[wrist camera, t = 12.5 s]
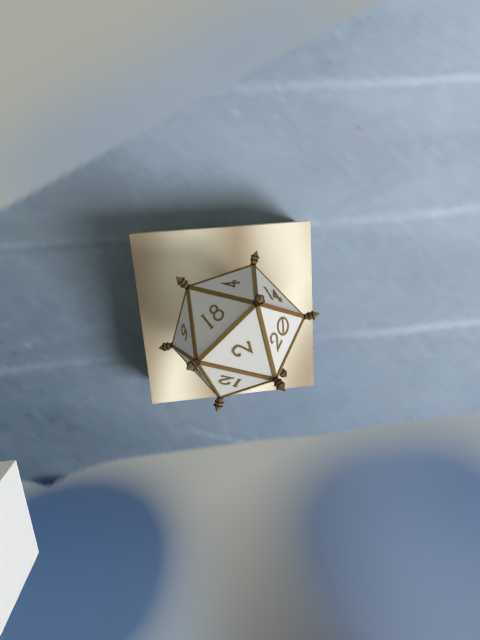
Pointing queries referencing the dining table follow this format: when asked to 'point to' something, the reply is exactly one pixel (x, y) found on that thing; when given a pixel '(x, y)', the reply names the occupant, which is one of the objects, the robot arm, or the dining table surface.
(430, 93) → the dining table surface
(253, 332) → the game die
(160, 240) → the birch base
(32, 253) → the dining table surface
